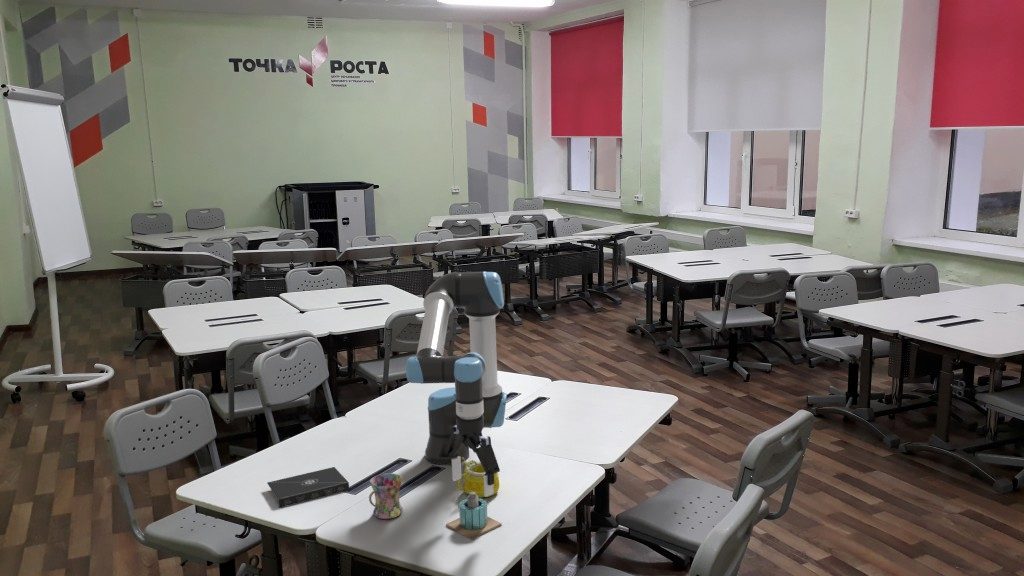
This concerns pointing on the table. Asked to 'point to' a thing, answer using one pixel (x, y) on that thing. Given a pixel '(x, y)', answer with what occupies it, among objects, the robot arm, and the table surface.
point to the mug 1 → (386, 495)
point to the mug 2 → (476, 479)
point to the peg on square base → (473, 533)
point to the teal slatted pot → (473, 515)
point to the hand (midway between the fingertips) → (472, 487)
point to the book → (308, 486)
